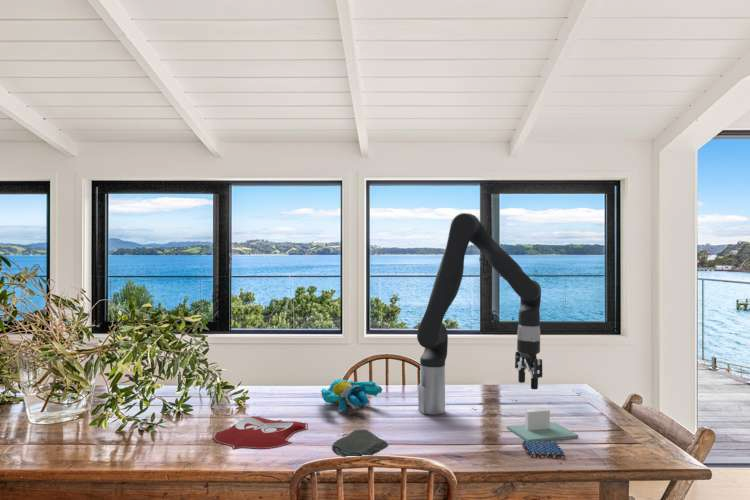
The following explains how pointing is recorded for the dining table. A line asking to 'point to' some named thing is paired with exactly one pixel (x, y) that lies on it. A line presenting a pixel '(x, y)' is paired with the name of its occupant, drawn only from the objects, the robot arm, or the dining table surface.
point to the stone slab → (359, 444)
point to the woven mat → (542, 449)
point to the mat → (543, 433)
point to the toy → (350, 393)
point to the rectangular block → (537, 419)
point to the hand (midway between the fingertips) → (527, 385)
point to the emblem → (259, 433)
